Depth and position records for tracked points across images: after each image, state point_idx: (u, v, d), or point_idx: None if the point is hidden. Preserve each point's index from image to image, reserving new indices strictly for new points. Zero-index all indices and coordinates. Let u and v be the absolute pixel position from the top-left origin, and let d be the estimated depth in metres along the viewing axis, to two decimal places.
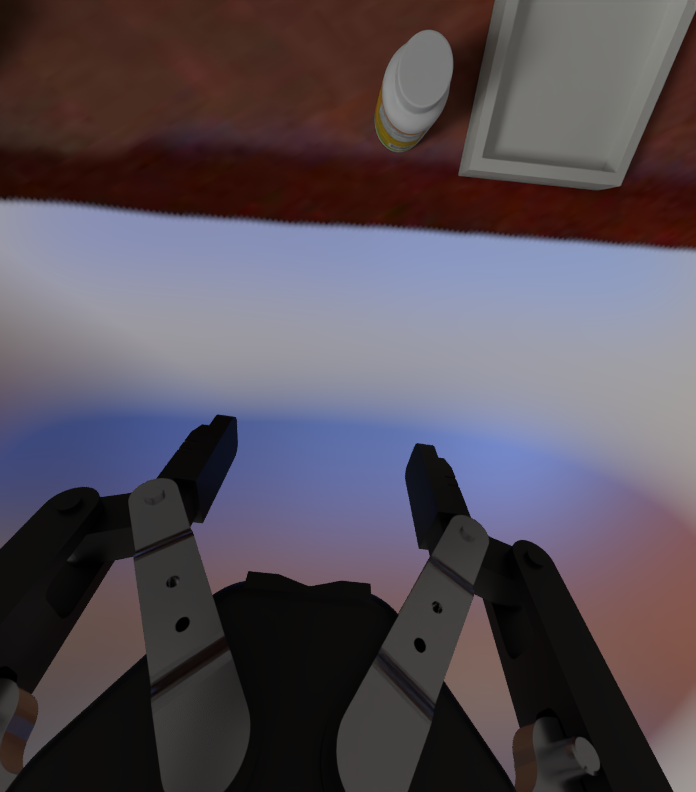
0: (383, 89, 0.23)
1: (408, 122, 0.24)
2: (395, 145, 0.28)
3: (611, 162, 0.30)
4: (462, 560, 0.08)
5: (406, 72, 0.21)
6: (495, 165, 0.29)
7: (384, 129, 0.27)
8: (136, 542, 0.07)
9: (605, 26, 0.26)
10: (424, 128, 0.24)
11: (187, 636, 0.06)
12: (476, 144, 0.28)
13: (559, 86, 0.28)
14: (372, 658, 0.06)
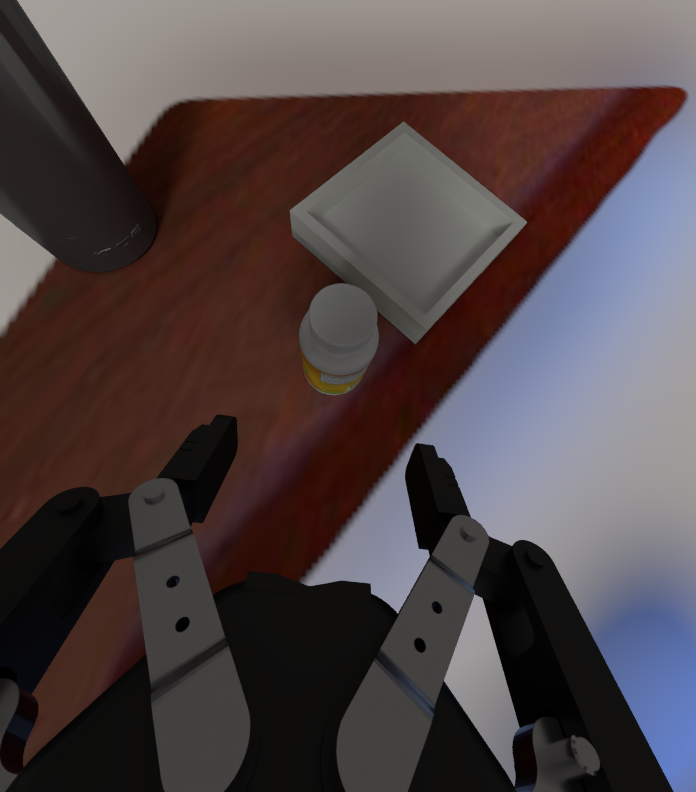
0: (315, 364, 0.19)
1: (362, 357, 0.19)
2: (354, 383, 0.23)
3: (497, 224, 0.29)
4: (463, 560, 0.08)
5: (330, 331, 0.16)
6: (440, 307, 0.25)
7: (337, 385, 0.22)
8: (136, 542, 0.07)
9: (394, 200, 0.29)
10: (377, 346, 0.19)
11: (187, 636, 0.06)
12: (410, 314, 0.25)
13: (410, 239, 0.29)
14: (372, 658, 0.06)
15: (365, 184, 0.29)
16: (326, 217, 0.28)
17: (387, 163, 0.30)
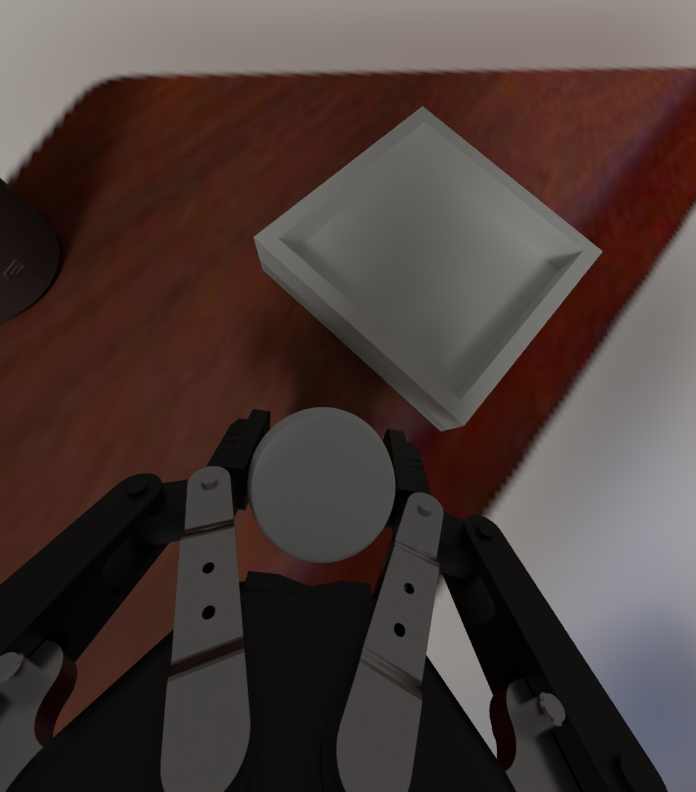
0: None
1: None
2: None
3: (555, 253, 0.21)
4: (424, 535, 0.09)
5: (296, 531, 0.08)
6: (482, 386, 0.16)
7: None
8: (186, 521, 0.08)
9: (409, 217, 0.21)
10: None
11: (187, 636, 0.06)
12: (438, 399, 0.16)
13: (432, 275, 0.20)
14: (356, 656, 0.06)
15: (368, 195, 0.21)
16: (311, 243, 0.19)
17: (398, 165, 0.22)
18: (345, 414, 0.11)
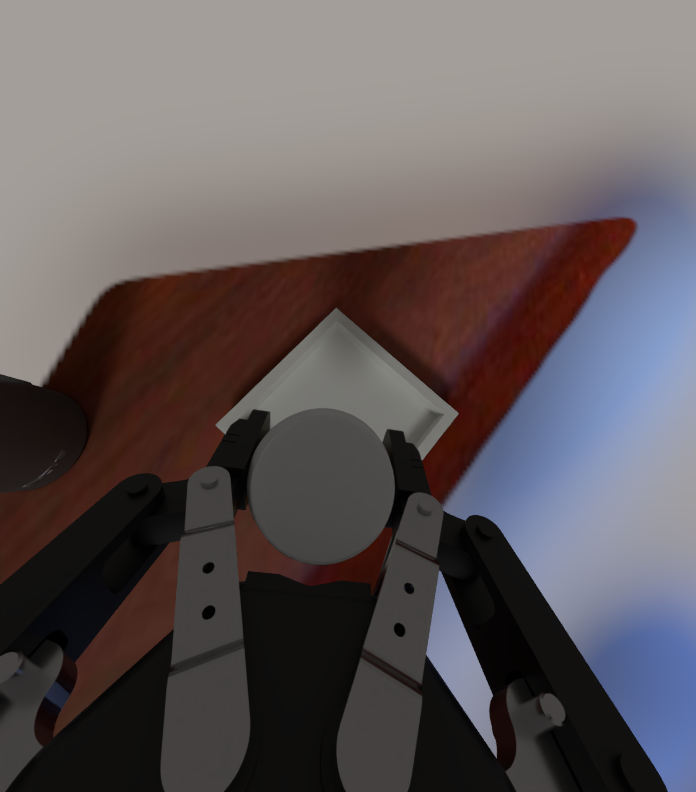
0: None
1: None
2: None
3: (431, 409, 0.29)
4: (424, 535, 0.09)
5: (295, 532, 0.08)
6: None
7: None
8: (186, 521, 0.08)
9: (329, 384, 0.30)
10: None
11: (187, 636, 0.06)
12: None
13: None
14: (356, 656, 0.06)
15: (299, 369, 0.30)
16: None
17: (323, 342, 0.30)
18: (345, 415, 0.11)
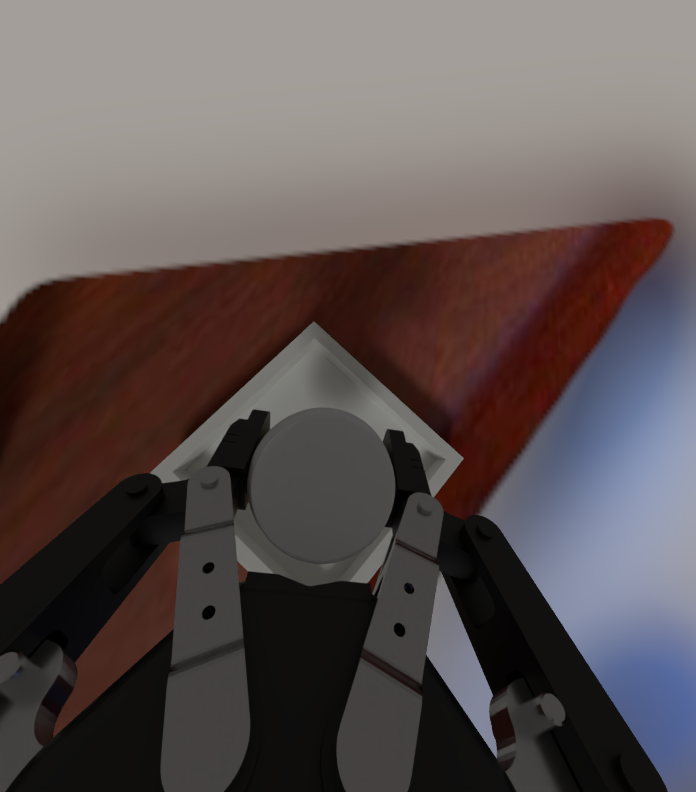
0: None
1: None
2: None
3: (429, 450, 0.24)
4: (424, 535, 0.09)
5: (295, 531, 0.08)
6: None
7: None
8: (187, 521, 0.08)
9: None
10: None
11: (187, 636, 0.06)
12: None
13: None
14: (356, 656, 0.06)
15: (267, 396, 0.24)
16: (212, 451, 0.22)
17: (297, 363, 0.25)
18: (345, 414, 0.11)
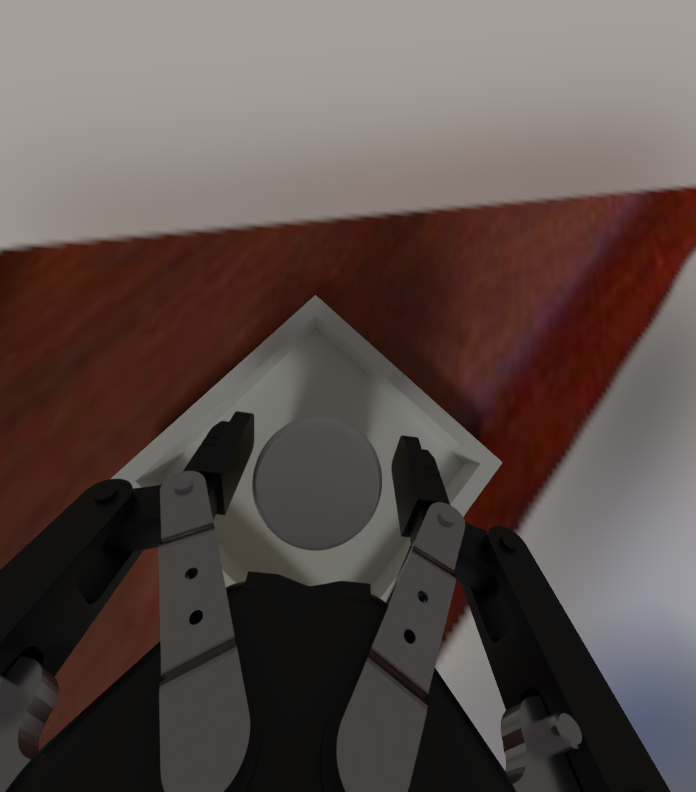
0: (277, 536, 0.11)
1: None
2: None
3: (458, 452, 0.19)
4: (442, 546, 0.08)
5: (293, 523, 0.09)
6: None
7: None
8: (162, 530, 0.08)
9: (302, 412, 0.19)
10: (379, 498, 0.12)
11: (187, 636, 0.06)
12: None
13: None
14: (364, 656, 0.06)
15: (258, 387, 0.19)
16: (190, 454, 0.18)
17: (296, 347, 0.20)
18: (339, 422, 0.12)
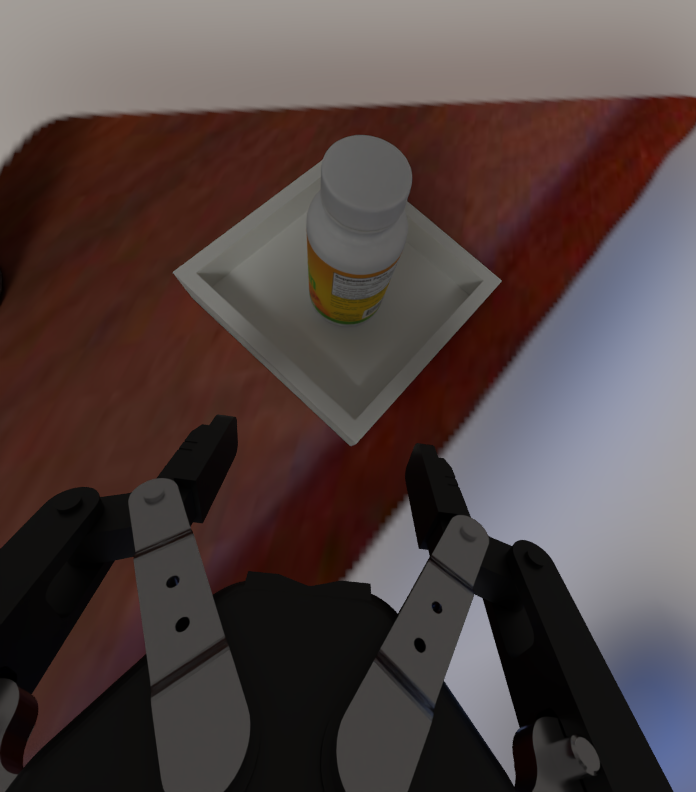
0: (328, 256, 0.14)
1: (388, 247, 0.14)
2: (372, 306, 0.19)
3: (464, 281, 0.22)
4: (463, 560, 0.08)
5: (350, 191, 0.12)
6: (376, 408, 0.18)
7: (353, 301, 0.18)
8: (136, 542, 0.07)
9: None
10: None
11: (187, 636, 0.06)
12: (334, 420, 0.18)
13: None
14: (372, 658, 0.06)
15: (292, 227, 0.23)
16: (235, 274, 0.21)
17: None
18: None
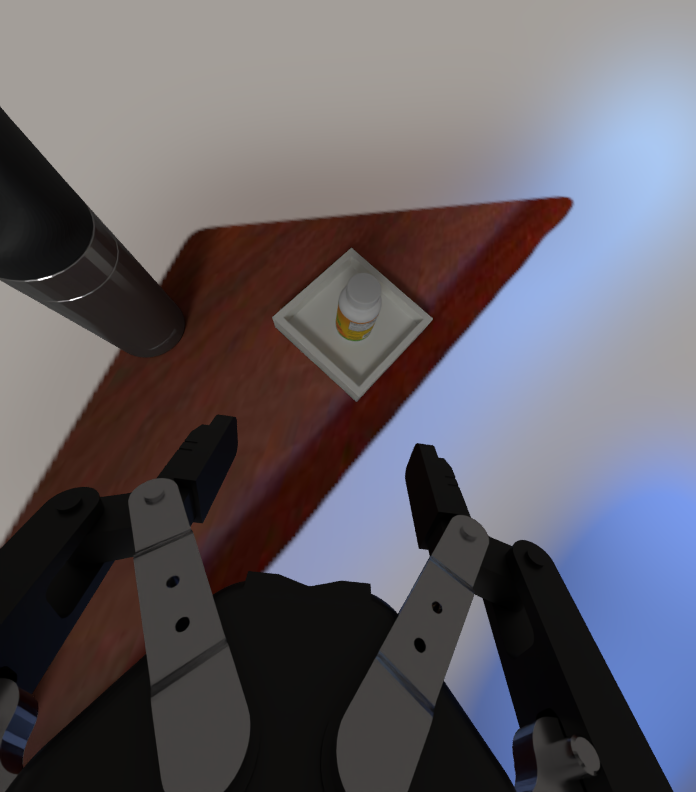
0: (348, 316, 0.35)
1: (373, 312, 0.35)
2: (367, 333, 0.40)
3: (415, 318, 0.43)
4: (463, 560, 0.08)
5: (358, 296, 0.33)
6: (369, 381, 0.39)
7: (358, 332, 0.38)
8: (136, 542, 0.07)
9: None
10: (380, 307, 0.36)
11: (187, 636, 0.06)
12: (349, 386, 0.38)
13: None
14: (372, 658, 0.06)
15: (325, 289, 0.43)
16: (298, 315, 0.42)
17: (341, 273, 0.44)
18: None
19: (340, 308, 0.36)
